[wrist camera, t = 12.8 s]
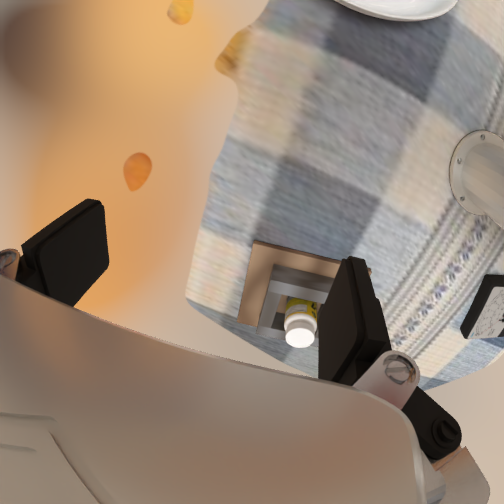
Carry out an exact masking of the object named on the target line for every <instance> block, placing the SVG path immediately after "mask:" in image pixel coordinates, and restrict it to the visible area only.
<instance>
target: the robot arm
mask: <svg viewBox="0 0 504 504" xmlns="http://www.w3.org/2000/svg"><path fill="white" fill-rule="evenodd" d="M457 159H458V160H457ZM450 184H451V188H452V192H453V194H454V196H455V198H456V200H457V201H458V203H459V204H460V205H461V206H462V207H463V208H464V209H465V210H467V211H468V212H470V213H472V214H474V215H488V216H489V217H490V218H491V219H492V220H493V221H494V222H495V223H497V224H498V225H499V226H500V227H501V228H502V229H503V230H504V140H503V139H502V138H500V137H499V136H498V135H496V134H494V133H492V132H489V131H482V130H480V131H475V132H472V133H470V134H468V135H467V136H466V137H465V138H463V139H462V141H461V142H460V143H459V144H458V146H457V148H456V150H455V151H454V154H453V157H452V160H451V165H450ZM21 247H22V251H23V255H22V256H21V257H20V253H19V252H18V250H16V249H5V250H2V251H0V504H487V502H488V500H489V496H490V487H489V484H488V482H487V481H486V479H485V477H484V475H483V474H482V472H481V470H480V469H479V467H478V465H477V464H476V462H475V460H474V459H473V457H472V456H471V454H470V453H469V451H468V449H467V448H466V446H465V447H464V448H461V446H460V443H461V437H462V433H461V429H460V426H459V424H458V422H457V421H456V420H455V419H454V418H453V417H452V416H451V415H450V414H449V413H447V412H446V411H445V410H444V409H443V408H442V407H441V406H440V405H438V404H437V403H436V402H435V401H434V400H433V399H432V398H431V397H429V396H428V395H427V394H426V393H425V392H424V391H423V390H421V389H420V388H419V387H418V386H417V385H418V383H419V380H420V371H419V368H418V366H417V364H416V363H415V361H414V360H413V359H412V358H411V357H409V356H408V355H406V354H405V353H403V352H399V351H393V350H392V348H391V344H390V340H389V335H388V331H387V327H386V323H385V319H384V316H383V312H382V308H381V304H380V301H379V299H377V298H376V297H375V293H374V289H373V286H372V282H371V279H370V275H369V272H368V269H367V265H366V262H365V260H364V259H361V258H357V257H352V256H349V257H348V258H347V259H342V261H341V264H340V266H339V269H338V271H337V274H336V276H335V279H334V281H333V284H332V286H331V289H330V291H329V294H328V296H327V299H326V301H325V303H324V306H323V308H322V310H321V313H320V316H319V321H318V339H319V364H318V379H317V378H312V377H307V376H303V375H297V374H293V373H288V372H283V371H278V370H274V369H269V368H264V367H260V366H256V365H252V364H247V363H243V362H239V361H235V360H231V359H227V358H223V357H219V356H215V355H212V354H208V353H204V352H201V351H197V350H194V349H190V348H187V347H184V346H180V345H177V344H173V343H170V342H167V341H164V340H160V339H158V338H155V337H152V336H148V335H146V334H142V333H140V332H137V331H134V330H131V329H128V328H125V327H123V326H120V325H117V324H114V323H112V322H109V321H106V320H104V319H101V318H99V317H96V316H94V315H91V314H89V313H86V312H83V311H81V310H79V309H76V308H74V305H75V304H76V303H77V302H78V301H79V300H80V298H81V297H82V296H83V295H84V294H85V292H86V291H87V290H88V289H89V288H90V287H91V286H92V284H93V283H95V281H96V280H97V279H98V278H99V277H100V276H101V275H102V274H103V273H104V271H105V270H106V269H107V268H108V266H109V255H108V246H107V235H106V225H105V211H104V206H103V205H102V203H101V202H100V201H98V200H94V199H86V200H84V201H83V202H81V203H79V204H78V205H76V206H75V207H73V208H72V209H70V210H69V211H67V212H66V213H64V214H63V215H62V216H60V217H59V218H57V219H56V220H54V221H53V222H52V223H50V224H49V225H47V226H46V227H45V228H43V229H42V230H41V231H39V232H38V233H36V234H35V235H34V236H33V237H31V238H30V239H29V240H27V241H26V242H25V243H23V244H22V245H21Z"/></svg>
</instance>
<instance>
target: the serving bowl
mask: <svg viewBox="0 0 504 504" xmlns="http://www.w3.org/2000/svg"><path fill="white" fill-rule="evenodd" d="M335 1H336V2H338V3H340V4H342V5H344V6H346V7H348V8H350V9H353V10H355V11H358V12H360V13H363V14H366V15H369V16H373V17H377V18H381V19H386V20H393V21H421V20H427V19H432V18H435V17H438V16H441V15H443V14H445V13H447V12H448V11H450V10H451V9H452V8H453V7H454V6H455V5H456V3H457V2H458V0H335Z"/></svg>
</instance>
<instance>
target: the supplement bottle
mask: <svg viewBox="0 0 504 504" xmlns="http://www.w3.org/2000/svg"><path fill="white" fill-rule="evenodd" d="M284 328H285V331H286V341H287V343H288V344H290V345H291V346H293V347H297V348H304V347H307V346H309V345H311V344H312V343H313V341H314V338H315V331H316V329H317V302H313V301H309V300H304V299H300V298H296V297H291V296H288V297H287V301H286V311H285V321H284Z"/></svg>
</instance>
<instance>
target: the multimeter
mask: <svg viewBox="0 0 504 504" xmlns="http://www.w3.org/2000/svg"><path fill="white" fill-rule="evenodd" d="M460 330H461V333H462V335H463V336H464V338H465V339H479V338H492V337H503V336H504V275H489V274H487V275H485V276H484V278H483V281H482V283H481V285H480V288H479V290H478V292H477V294H476V297H475V299H474V301H473V303H472V305H471V307H470V309H469V311H468V313H467V315H466V317H465V319H464V321H463V323H462V325H461V327H460Z"/></svg>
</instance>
